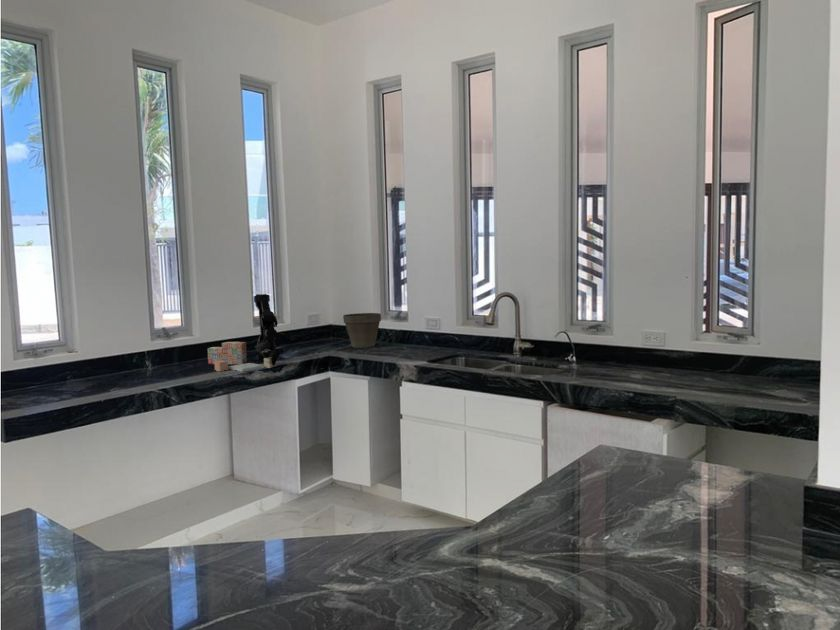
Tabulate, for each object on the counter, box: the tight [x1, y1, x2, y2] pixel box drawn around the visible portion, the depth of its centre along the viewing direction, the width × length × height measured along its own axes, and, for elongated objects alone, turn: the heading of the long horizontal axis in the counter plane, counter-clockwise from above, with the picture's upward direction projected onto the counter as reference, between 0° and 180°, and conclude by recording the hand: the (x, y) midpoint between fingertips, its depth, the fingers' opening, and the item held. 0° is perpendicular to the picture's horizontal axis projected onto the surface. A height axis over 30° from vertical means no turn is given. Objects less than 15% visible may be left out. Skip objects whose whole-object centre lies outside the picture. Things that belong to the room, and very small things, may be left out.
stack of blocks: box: [206, 341, 248, 365], centre depth 385 cm, size 21×6×12 cm, turn 80°
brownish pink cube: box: [213, 361, 229, 372], centre depth 361 cm, size 5×5×5 cm
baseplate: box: [228, 362, 265, 373], centre depth 365 cm, size 14×14×2 cm
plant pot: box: [343, 312, 382, 349], centre depth 438 cm, size 25×25×22 cm
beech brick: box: [263, 357, 278, 369], centre depth 368 cm, size 5×5×5 cm
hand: (270, 365), depth 369 cm, fingers closed on beech brick, 5 cm apart
